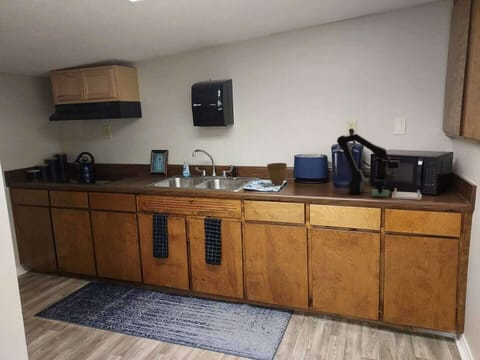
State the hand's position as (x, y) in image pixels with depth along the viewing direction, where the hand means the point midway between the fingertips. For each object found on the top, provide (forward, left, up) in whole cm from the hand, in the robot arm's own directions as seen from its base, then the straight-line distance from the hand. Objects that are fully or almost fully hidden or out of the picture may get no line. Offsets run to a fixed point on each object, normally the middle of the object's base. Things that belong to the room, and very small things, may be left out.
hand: (380, 192), depth 225 cm
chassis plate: (+15, 0, -2) cm, 15 cm away
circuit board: (0, 0, -2) cm, 2 cm away
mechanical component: (-12, +6, -2) cm, 14 cm away
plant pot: (-75, +14, -2) cm, 76 cm away
